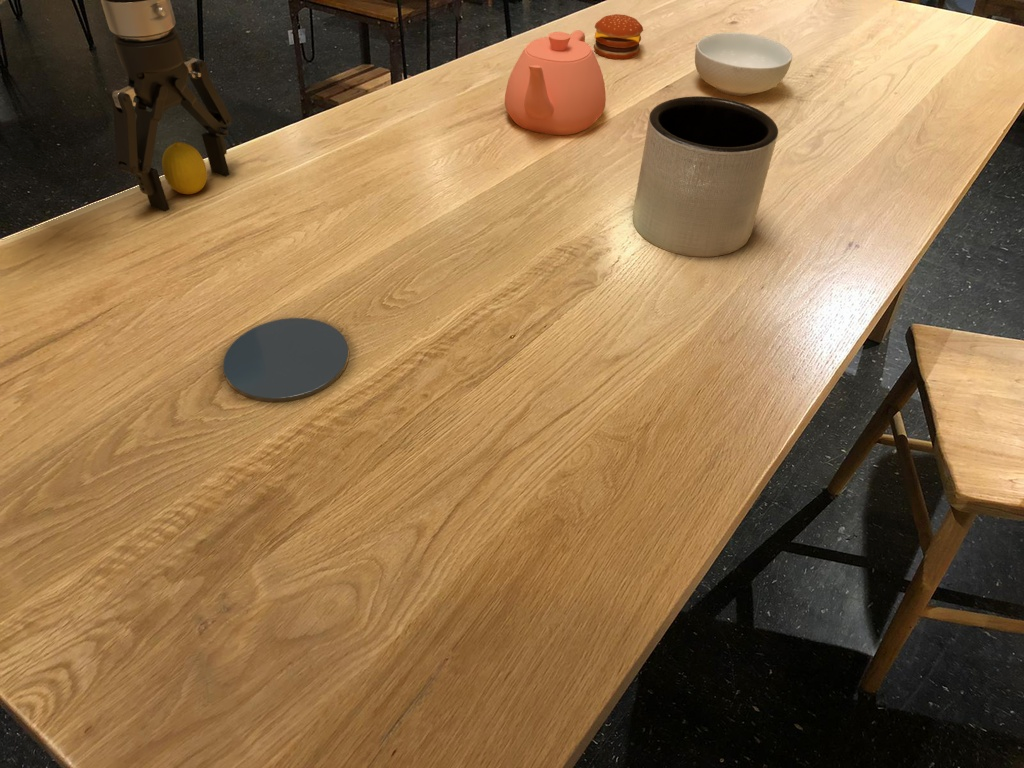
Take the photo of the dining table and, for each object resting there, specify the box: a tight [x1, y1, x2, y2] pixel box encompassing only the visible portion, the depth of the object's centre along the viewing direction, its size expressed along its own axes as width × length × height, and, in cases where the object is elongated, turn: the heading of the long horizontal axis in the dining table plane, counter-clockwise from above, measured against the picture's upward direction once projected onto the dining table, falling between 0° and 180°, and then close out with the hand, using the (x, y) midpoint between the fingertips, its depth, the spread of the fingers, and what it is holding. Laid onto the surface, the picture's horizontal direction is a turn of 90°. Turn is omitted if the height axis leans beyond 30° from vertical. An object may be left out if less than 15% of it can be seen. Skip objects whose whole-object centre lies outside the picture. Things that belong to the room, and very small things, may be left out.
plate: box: [222, 317, 350, 403], centre depth 82 cm, size 13×13×2 cm
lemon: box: [161, 141, 208, 195], centre depth 105 cm, size 6×6×8 cm
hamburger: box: [593, 13, 644, 60], centre depth 151 cm, size 9×10×7 cm
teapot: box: [504, 30, 607, 136], centre depth 125 cm, size 25×17×13 cm
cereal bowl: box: [694, 32, 793, 97], centre depth 139 cm, size 17×17×7 cm
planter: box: [632, 95, 779, 258], centre depth 99 cm, size 16×16×16 cm
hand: (192, 194), depth 108 cm, fingers open, 11 cm apart
